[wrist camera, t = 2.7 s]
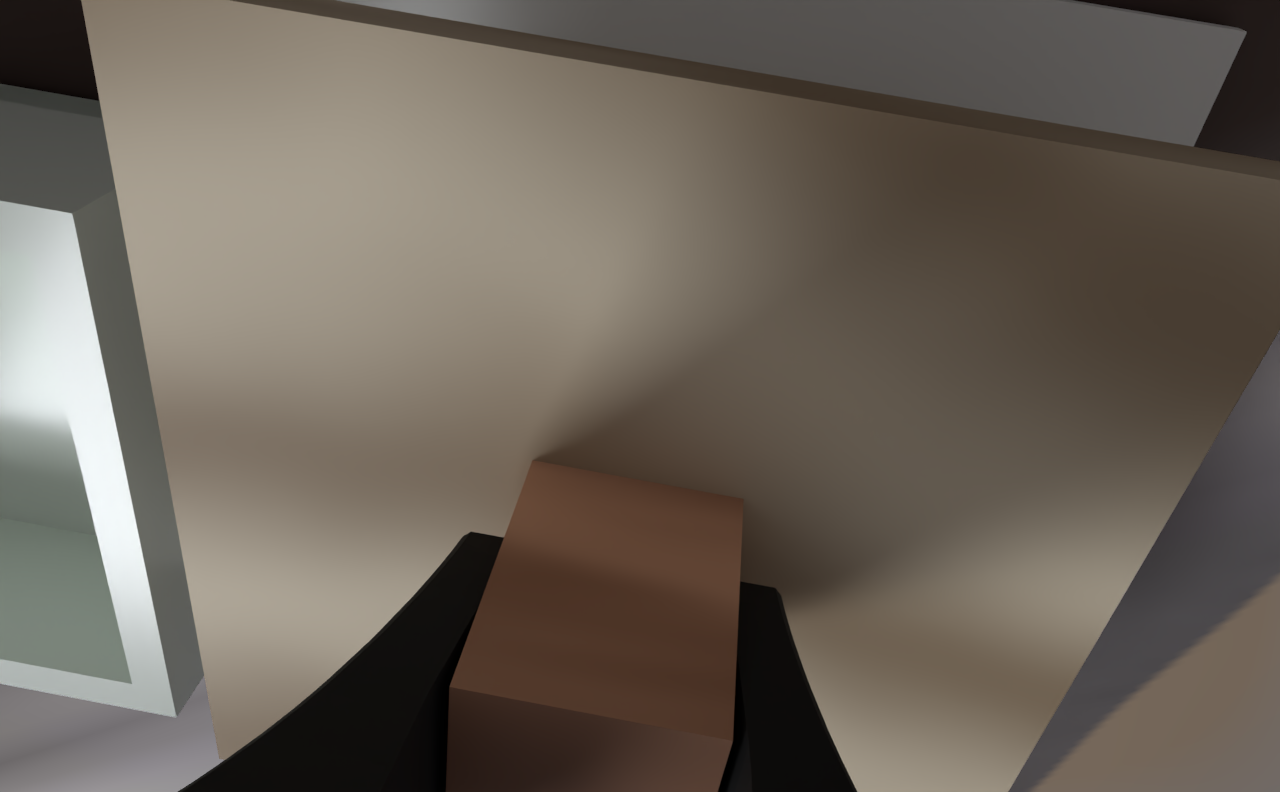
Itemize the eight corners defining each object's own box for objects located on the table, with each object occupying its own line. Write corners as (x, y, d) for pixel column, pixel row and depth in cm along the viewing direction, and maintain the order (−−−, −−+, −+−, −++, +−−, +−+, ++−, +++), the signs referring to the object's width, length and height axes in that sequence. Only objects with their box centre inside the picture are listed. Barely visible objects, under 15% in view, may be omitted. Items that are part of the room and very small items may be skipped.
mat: (930, 697, 23) (932, 707, 22) (305, 580, 23) (300, 589, 23) (1238, 27, 14) (1246, 31, 14) (247, -137, 15) (238, -136, 14)
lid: (938, 859, 18) (984, 1159, 14) (239, 724, 19) (91, 978, 15) (1322, 167, 11) (1661, 396, 6) (118, -37, 11) (-263, 58, 7)
